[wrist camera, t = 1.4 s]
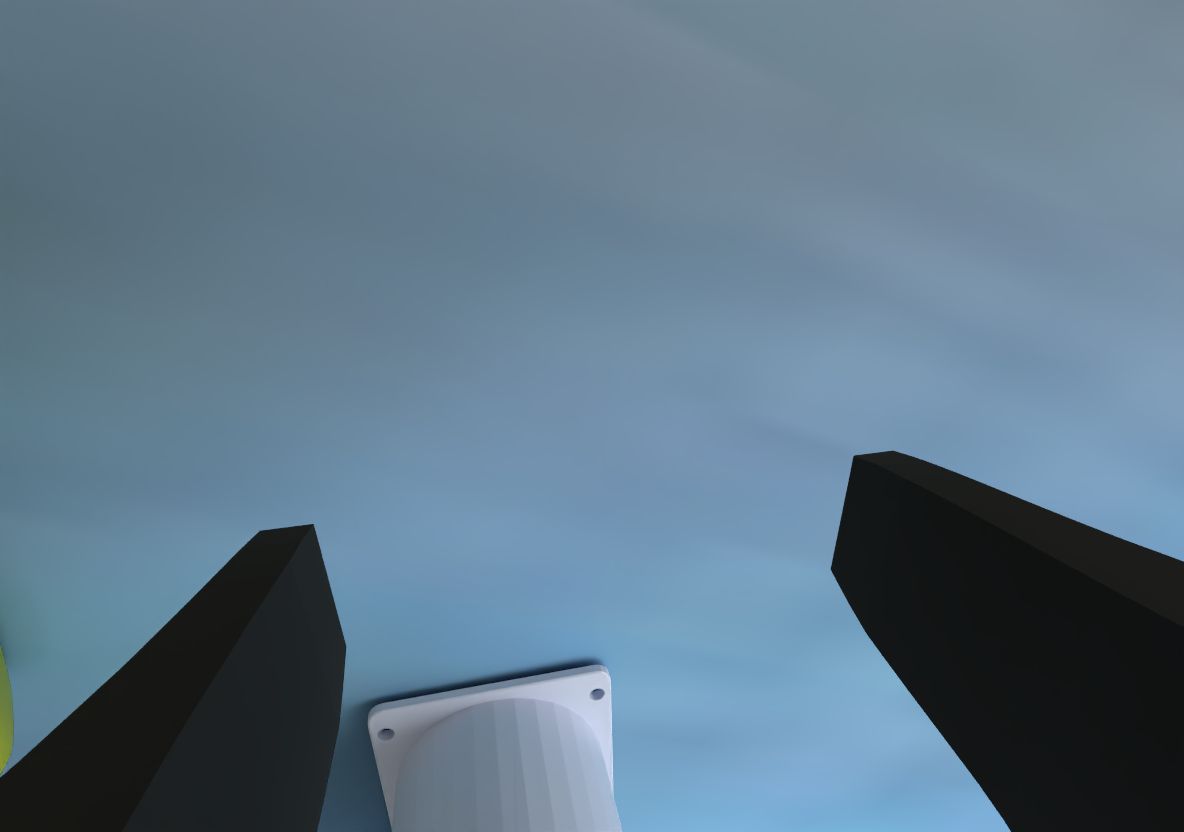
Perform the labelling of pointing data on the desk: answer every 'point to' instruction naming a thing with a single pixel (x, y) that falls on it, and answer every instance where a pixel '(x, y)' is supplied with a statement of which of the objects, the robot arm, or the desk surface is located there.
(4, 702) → the dumbbell
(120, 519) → the desk surface
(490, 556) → the desk surface
